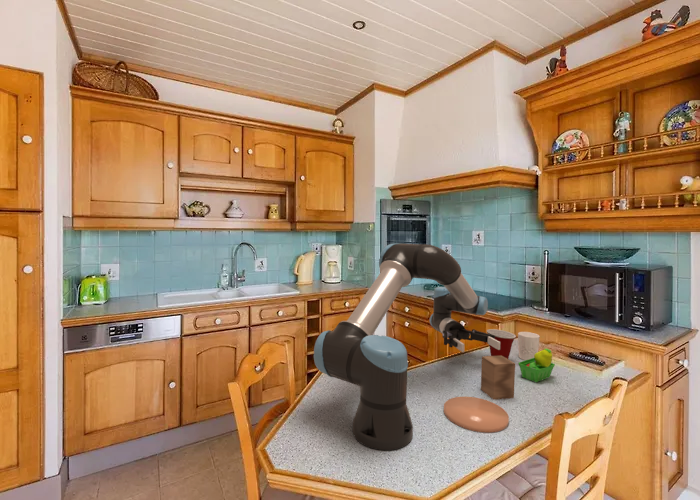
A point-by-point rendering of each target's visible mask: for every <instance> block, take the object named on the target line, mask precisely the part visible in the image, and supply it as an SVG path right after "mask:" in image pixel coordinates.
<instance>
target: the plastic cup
mask: <svg viewBox="0 0 700 500" xmlns="http://www.w3.org/2000/svg"><path fill="white" fill-rule="evenodd" d="M486 333H487V334H492V335H495V340H497V341H499V342H500V350H498V349H496V348H494V347H492V346H491V345H489V353H490V356H500V355H501V356H503V357H505V358H507V359H508V360H509V358H510V354H511V350H512V346H513V343H514V340H515V339H516V337H517V336H516V334H515V333H513V332H510V331H507V330H502V329H496V328H493V329H492V328H491V329H486Z"/></svg>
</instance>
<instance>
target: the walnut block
mask: <svg viewBox="0 0 700 500" xmlns="http://www.w3.org/2000/svg"><path fill="white" fill-rule="evenodd" d="M480 372H481V373H480V376H481V377H480V390H481V391H482V392H483V393H484V394H486V395H487V396H488V397H490V399H491V400H493V401H494V400H495V401H496V400H506V399H507V400H508V399H515V383H516V382H515V378H516V377H515V376H516V374H515V373H516V363H515V362H514V361H512V360H510V359H509V358H508V359H507V358H505V357H503V356H501V355H500V356H491V355H487V356H485V355H484V356H481V371H480Z"/></svg>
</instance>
